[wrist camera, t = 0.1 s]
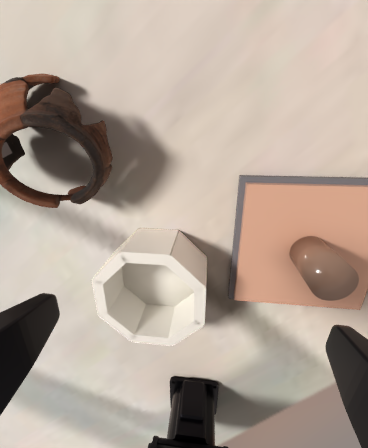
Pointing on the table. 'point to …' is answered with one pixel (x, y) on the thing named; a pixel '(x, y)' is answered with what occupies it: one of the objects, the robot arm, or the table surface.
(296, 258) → the lid
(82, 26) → the table surface
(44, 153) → the table surface
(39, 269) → the table surface
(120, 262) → the bowl
